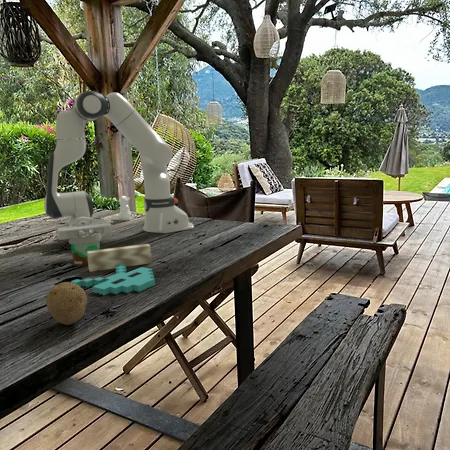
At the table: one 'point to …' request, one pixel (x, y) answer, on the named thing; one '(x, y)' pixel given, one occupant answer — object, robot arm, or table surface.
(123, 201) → the sitting furry creature
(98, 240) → the food container
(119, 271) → the alien figure
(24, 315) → the table surface
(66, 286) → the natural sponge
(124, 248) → the birch board
